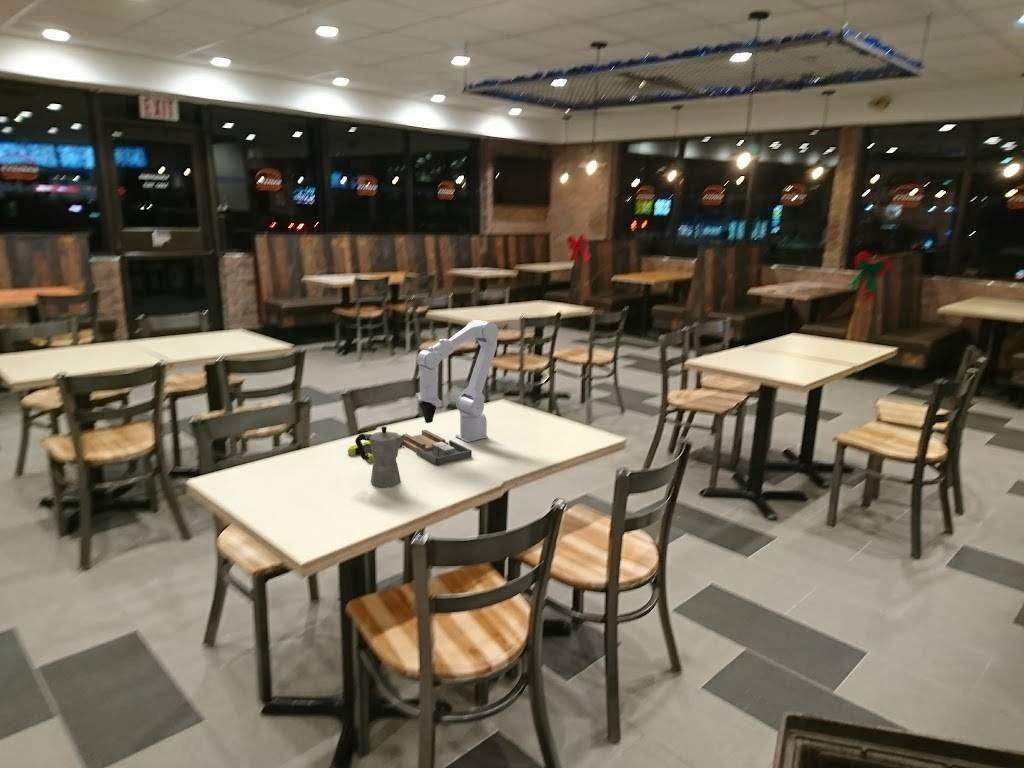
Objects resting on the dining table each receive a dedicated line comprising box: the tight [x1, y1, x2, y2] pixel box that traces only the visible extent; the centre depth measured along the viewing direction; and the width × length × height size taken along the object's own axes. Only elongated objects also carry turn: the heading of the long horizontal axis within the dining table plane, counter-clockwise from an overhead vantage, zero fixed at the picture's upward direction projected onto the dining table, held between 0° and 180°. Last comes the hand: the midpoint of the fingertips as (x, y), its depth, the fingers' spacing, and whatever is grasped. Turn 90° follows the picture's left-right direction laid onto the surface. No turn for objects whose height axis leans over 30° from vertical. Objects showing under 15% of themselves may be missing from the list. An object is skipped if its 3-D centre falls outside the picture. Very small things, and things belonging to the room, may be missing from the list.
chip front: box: [439, 444, 455, 457], centre depth 227 cm, size 4×4×3 cm
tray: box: [415, 439, 473, 466], centre depth 229 cm, size 14×13×2 cm
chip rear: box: [432, 442, 447, 455], centre depth 230 cm, size 4×4×3 cm
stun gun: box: [346, 441, 404, 464], centre depth 231 cm, size 3×19×15 cm
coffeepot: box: [354, 426, 406, 489], centre depth 203 cm, size 15×9×18 cm, turn 90°
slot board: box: [402, 429, 449, 453], centre depth 239 cm, size 12×14×3 cm
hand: (428, 422), depth 234 cm, fingers closed
